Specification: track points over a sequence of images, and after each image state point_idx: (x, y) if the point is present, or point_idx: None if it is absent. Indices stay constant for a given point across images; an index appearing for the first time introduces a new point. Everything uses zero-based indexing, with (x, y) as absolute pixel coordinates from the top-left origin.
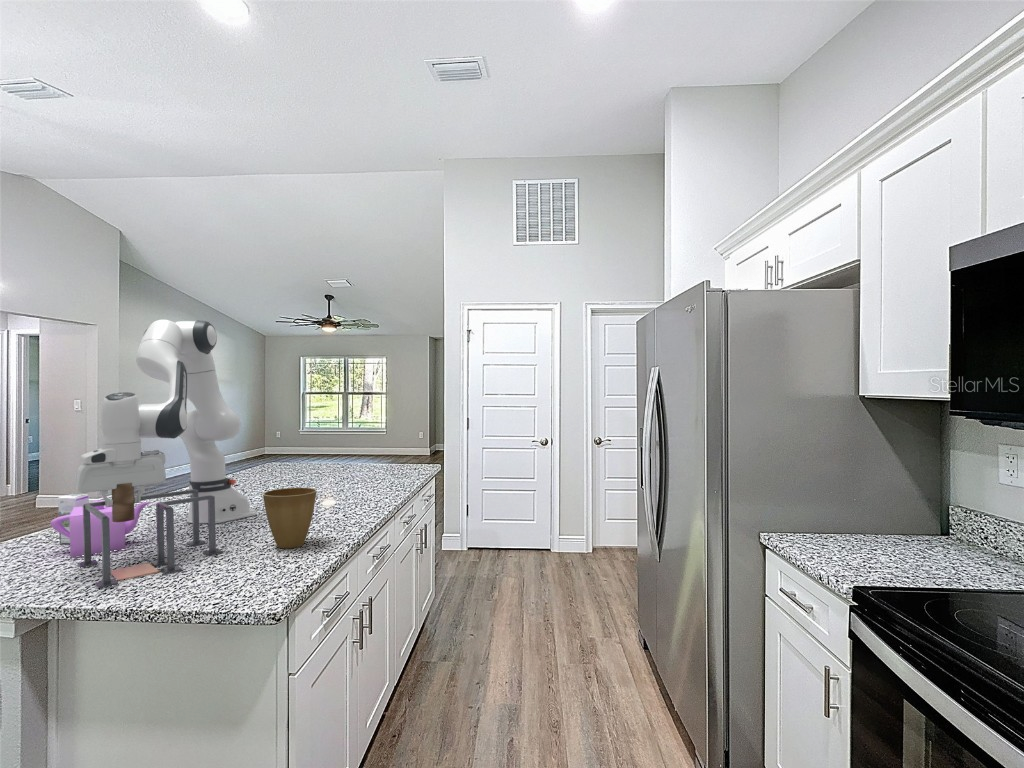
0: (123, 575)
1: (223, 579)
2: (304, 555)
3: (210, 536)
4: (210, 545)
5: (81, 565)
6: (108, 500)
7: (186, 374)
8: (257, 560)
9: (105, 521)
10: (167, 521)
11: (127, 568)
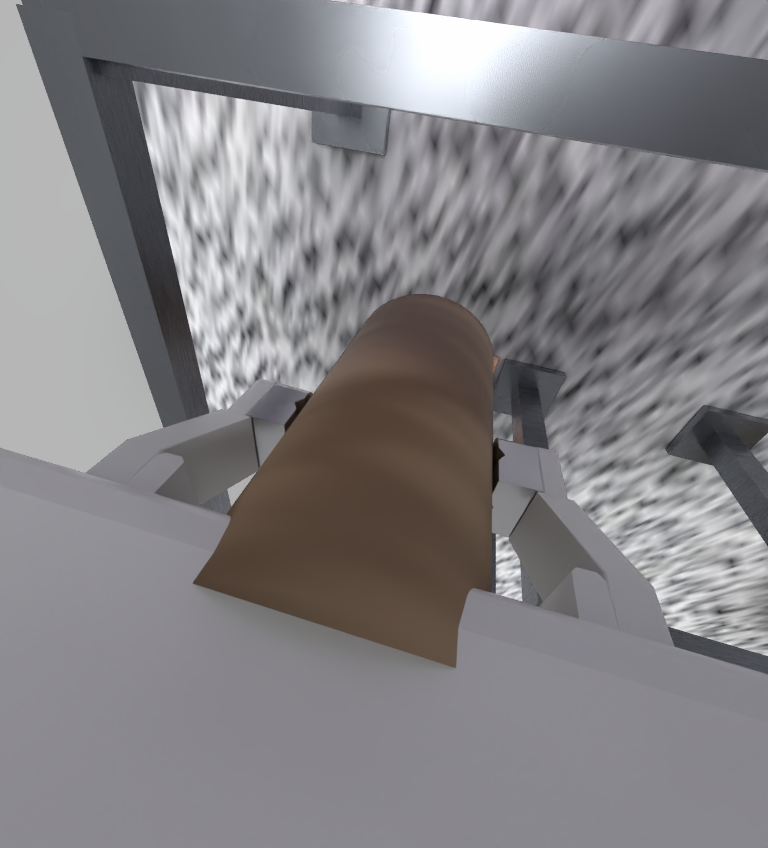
0: None
1: (499, 587)
2: (735, 634)
3: (733, 494)
4: (713, 464)
5: (317, 135)
6: (251, 468)
7: None
8: (657, 578)
9: None
10: None
11: None
